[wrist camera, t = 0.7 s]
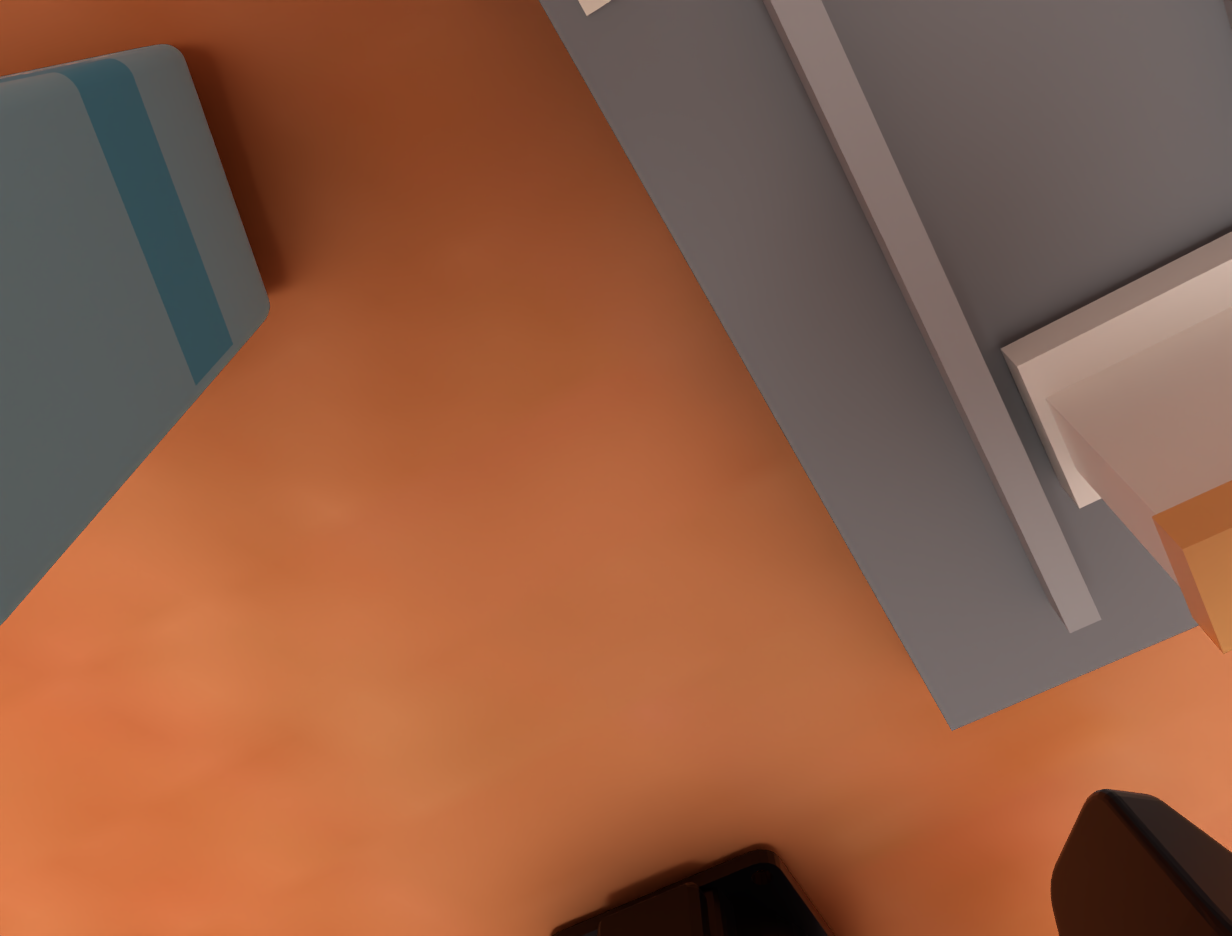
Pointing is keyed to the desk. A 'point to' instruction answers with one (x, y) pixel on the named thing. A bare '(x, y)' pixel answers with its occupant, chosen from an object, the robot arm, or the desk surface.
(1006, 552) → the console board
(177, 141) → the data package
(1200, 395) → the fader tab
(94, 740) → the desk surface
